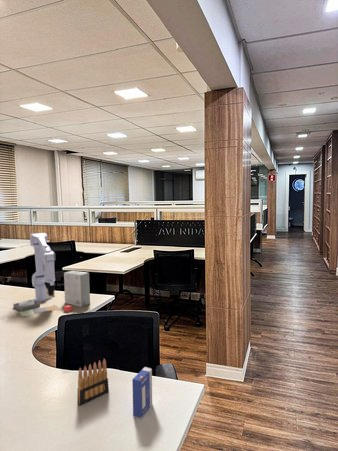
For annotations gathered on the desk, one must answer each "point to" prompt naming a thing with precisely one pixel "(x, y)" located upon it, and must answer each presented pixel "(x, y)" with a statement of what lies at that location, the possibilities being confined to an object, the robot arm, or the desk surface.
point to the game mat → (39, 310)
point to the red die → (67, 308)
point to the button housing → (26, 306)
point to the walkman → (142, 392)
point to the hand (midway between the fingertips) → (50, 294)
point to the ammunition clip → (92, 383)
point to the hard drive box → (77, 288)
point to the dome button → (26, 303)
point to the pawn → (48, 294)
